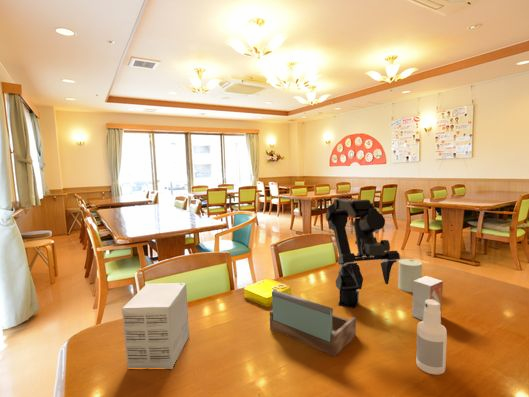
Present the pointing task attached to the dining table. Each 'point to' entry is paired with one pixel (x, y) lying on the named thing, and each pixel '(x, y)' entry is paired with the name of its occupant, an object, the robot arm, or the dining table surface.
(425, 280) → the small box
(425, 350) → the spray bottle
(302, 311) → the panel
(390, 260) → the robot arm
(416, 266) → the can
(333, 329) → the open wooden crate
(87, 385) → the dining table surface
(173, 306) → the supplement box
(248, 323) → the dining table surface
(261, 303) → the element tile
